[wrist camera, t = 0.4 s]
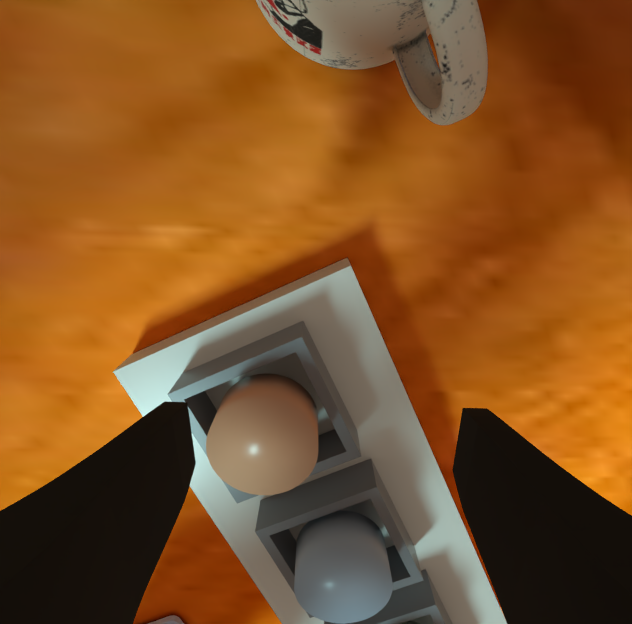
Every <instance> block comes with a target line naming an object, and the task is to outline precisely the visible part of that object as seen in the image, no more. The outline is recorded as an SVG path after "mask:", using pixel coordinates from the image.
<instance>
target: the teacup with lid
mask: <svg viewBox="0 0 632 624" xmlns="http://www.w3.org/2000/svg"><path fill="white" fill-rule="evenodd" d="M256 2H257V4H258V6H259V7H260V9H261V11H262V13H263V15H264V16H265V18H266V19H267V21H268V22H269V23H270V25H271V26H272V27H273V29H274V30H275V31H276V32H277V33H278V35H279V36H280V37H281V38H282V39H283V40H284V41H285V42H286V43H287V44H289V45H290V46H291V47H292V48H293V49H295V50H296V51H297V52H299V53H301V54H302V55H304V56H305V57H307V58H309V59H311V60H313V61H315V62H318V63H320V64H323V65H326V66H330V67H334V68H340V69H353V70H356V69H367V68H372V67H377V66H380V65H383V64H386V63H389V62H391V61H393V60H395V61H396V64H397V67H398V69H399V72H400V75H401V77H402V80H403V82H404V85H405V87H406V89H407V91H408V93H409V95H410V97H411V99H412V101H413V102H414V104H415V105H416V107H417V108H418V109H419V111H420V112H421V113H422V114H423V115H424V116H425V117H426V118H427V119H429V120H430V121H432V122H433V123H435V124H438V125H450V124H453V123H455V122H457V121H460V120H462V119H464V118H466V117H468V116H469V115H471V114H472V113H473V112H475V110H476V109H477V108H478V107H479V105H480V104H481V102H482V100H483V97H484V94H485V90H486V85H487V74H488V56H487V45H486V38H485V32H484V27H483V23H482V18H481V14H480V10H479V6H478V3H477V0H256ZM430 34H431V35H432V39H433V42H434V46H435V49H436V54H437V58H438V62H439V67H438V65H437V62H436V60H435V57H434V55H433V52H432V49H431V46H430V43H429V40H428V36H429V35H430ZM439 68H440V69H439Z"/></svg>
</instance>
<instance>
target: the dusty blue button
mask: <svg viewBox="0 0 632 624" xmlns="http://www.w3.org/2000/svg"><path fill="white" fill-rule="evenodd" d="M392 589H393V582H392V577H391V572H390V566H389V561H388V556H387V551H386V545H385V540H384V536H383V534H382V531H381V530H380V528H379V527H378V526H377V524H376V523H375V522H373V521H372V520H371V519H369V518H368V517H366V516H364V515H362V514H359V513H356V512H352V511H336V512H333V513H330V514H328V515H325V516H322V517H319V518H317V519H314V520H311V521H309V522H308V523H307V524H306V525H305V526H304V527H303V528H302V529H301V531H300V533H299V535H298V538H297V543H296V561H295V580H294V592H295V596H296V599H297V601H298V603H299V604H300V605H301V607H302V608H303V609H304V610H305V611H306V612H308V613H309V614H310V615H312V616H314V617H315V618H318V619H320V620H323V621H326V622H331V623H339V624H346V623H354V622H359V621H362V620H365V619H368V618H370V617H372V616H374V615H375V614H377V613H378V612H379V611H380V610H382V609H383V608H384V607H385V605H386V604H387V603H388V601H389V599H390V597H391V594H392Z"/></svg>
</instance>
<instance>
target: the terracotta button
mask: <svg viewBox="0 0 632 624" xmlns="http://www.w3.org/2000/svg"><path fill="white" fill-rule="evenodd" d="M206 452H207V457H208V460H209V462H210V464H211V466H212V468H213V470H214V471H215V472H216V474H217V475H218V476H219V477H220V478H221V479H222V480H223V481H224V482H226V483H227V484H228V485H230V486H232V487H233V488H235V489H237V490H240V491H242V492H245V493H249V494H254V495H275V494H280V493H283V492H286V491H289V490H291V489H293V488H295V487H297V486H298V485H300V484H301V483H302V482H303V481H304V480H305V479H306V478H307V477H308V476H309V475H310V474H311V472H312V471H313V469H314V467H315V464H316V462H317V458H318V411H317V407H316V404H315V402H314V400H313V398H312V397H311V395H310V394H309V392H308V391H307V390H306V389H305V388H304V387H303V386H302V385H300V384H299V383H297V382H296V381H294V380H292V379H290V378H288V377H285V376H282V375H277V374H266V373H265V374H256V375H252V376H249V377H246V378H244V379H242V380H240V381H238V382H237V383H235V384H234V385H233V386H232V387H231V388H230V389H229V390H228V391H227V392H226V394H225V396H224V397H223V399H222V402H221V404H220V406H219V408H218V411H217V413H216V415H215V418H214V420H213V422H212V425H211V427H210V429H209V432H208V435H207V439H206Z"/></svg>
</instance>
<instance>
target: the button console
mask: <svg viewBox="0 0 632 624" xmlns="http://www.w3.org/2000/svg"><path fill="white" fill-rule="evenodd" d="M113 372H114V374H115V375H116V377H117V378H118V380H119V381H120V383H121V384H122V386H123V387H124V389H125V390H126V392H127V393H128V395H129V396H130V398H131V399H132V401H133V402H134V404H135V405H136V407H137V408H138V410H139V411H140V413H141V414H142V416H143V417H144V416H145V415H146V414H148V413H149V412H150V411H152V410H153V409H155V408H156V407H157V406H159V405H160V404H162V403H163V402H187V403H188V410H189V417H190V425H191V432H192V439H193V446H194V454H195V461H196V465H195V468H194V472H193V475H192V479H191V482H190V485H189V486H190V487H191V489H192V490H193V492H194V493H195V495H196V496H197V498H198V499H199V501H200V502H201V504H202V505H203V507H204V508H205V510H206V511H207V513H208V514H209V515H210V517H211V518H212V520H213V521H214V523H215V524H216V526H217V527H218V529H219V530H220V532H221V533H222V535H223V536H224V538H225V539H226V541H227V542H228V544H229V545H230V547H231V548H232V550H233V551H234V553H235V554H236V556H237V557H238V559H239V560H240V562H241V563H242V565H243V566H244V568H245V569H246V571H247V572H248V574H249V575H250V577H251V578H252V580H253V581H254V583H255V584H256V586H257V587H258V589H259V590H260V592H261V593H262V595H263V596H264V597H265V599H266V600H267V602H268V603H269V605H270V606H271V608H272V609H273V611H274V612H275V614H276V615H277V617H278V618H279V620H280V621H281V623H282V624H339V623H331V622H326V621H323V620H320V619H318V618H315V617H314V616H312V615H310V614H309V613H308V612H306V611H305V610H304V609H303V608H302V607H301V605H300V604H299V603H298V601H297V599H296V596H295V592H294V580H295V561H296V543H297V538H298V535H299V533H300V531H301V529H302V528H303V527H304V526H305V525H306V524H307V523H308V522H309V521H311V520H314V519H317V518H319V517H322V516H325V515H328V514H330V513H333V512H336V511H352V512H356V513H359V514H362V515H364V516H366V517H368V518H369V519H371V520H372V521H373V522H375V523H376V524H377V526H378V527H379V528H380V530H381V531H382V534H383V536H384V540H385V545H386V551H387V556H388V561H389V566H390V572H391V577H392V582H393V589H392V594H391V597H390V599H389V601H388V603H387V604H386V605H385V607H384V608H383V609H382V610H380V611H379V612H378V613H377V614H375V615H374V616H372V617H370V618H368V619H365V620H362V621H359V622H354V623H346V624H401V623H404V622H407V621H415V622H418V623H420V624H507V622H506V620H505V618H504V615H503V613H502V611H501V608H500V606H499V604H498V601H497V599H496V597H495V595H494V592H493V590H492V588H491V585H490V583H489V581H488V578H487V576H486V574H485V572H484V569H483V567H482V565H481V562H480V560H479V558H478V556H477V553H476V551H475V549H474V546H473V544H472V542H471V540H470V537H469V535H468V533H467V530H466V528H465V526H464V523H463V521H462V519H461V517H460V514H459V512H458V510H457V507H456V505H455V503H454V501H453V498H452V496H451V494H450V491H449V489H448V487H447V485H446V482H445V480H444V478H443V475H442V473H441V471H440V468H439V466H438V464H437V462H436V459H435V457H434V455H433V452H432V450H431V448H430V446H429V443H428V441H427V439H426V436H425V434H424V432H423V429H422V427H421V425H420V423H419V420H418V418H417V416H416V413H415V411H414V409H413V407H412V404H411V402H410V400H409V397H408V395H407V393H406V391H405V388H404V386H403V384H402V381H401V379H400V377H399V374H398V372H397V370H396V368H395V365H394V363H393V361H392V358H391V356H390V354H389V352H388V349H387V347H386V345H385V342H384V340H383V338H382V335H381V333H380V331H379V329H378V326H377V324H376V322H375V319H374V317H373V315H372V313H371V310H370V308H369V306H368V303H367V301H366V299H365V297H364V294H363V292H362V290H361V287H360V285H359V283H358V280H357V278H356V276H355V274H354V271H353V269H352V267H351V264H350V262H349V260H348V258H345V259H343V260H340V261H338V262H336V263H334V264H331V265H329V266H327V267H325V268H323V269H320V270H318V271H316V272H314V273H311V274H309V275H307V276H305V277H303V278H300V279H298V280H296V281H294V282H291V283H289V284H287V285H285V286H283V287H280V288H278V289H276V290H274V291H271V292H269V293H267V294H265V295H262V296H260V297H258V298H256V299H254V300H251V301H249V302H247V303H245V304H242V305H240V306H238V307H236V308H234V309H231V310H229V311H227V312H225V313H222V314H220V315H218V316H216V317H213V318H211V319H209V320H207V321H205V322H202V323H200V324H198V325H196V326H193V327H191V328H189V329H187V330H185V331H182V332H180V333H178V334H176V335H173V336H171V337H169V338H167V339H164V340H162V341H160V342H158V343H156V344H153V345H151V346H149V347H147V348H144V349H142V350H140V351H138V352H136V353H133V354H131V355H130V356H129V357H128V358H127V359H126V360H125V361H124V362H123V363H122V364H121V365H120V366H118V367H117V368H116V369H115V370H114V371H113ZM265 373H266V374H277V375H282V376H285V377H288V378H290V379H292V380H294V381H296V382H297V383H299V384H300V385H302V386H303V387H304V388H305V389H306V390H307V391H308V392H309V394H310V395H311V397H312V398H313V400H314V402H315V404H316V407H317V411H318V458H317V462H316V464H315V467H314V469H313V471H312V472H311V474H310V475H309V476H308V477H307V478H306V479H305V480H304V481H303V482H302V483H301V484H300V485H298V486H297V487H295V488H293V489H291V490H289V491H286V492H283V493H280V494H275V495H254V494H249V493H245V492H242V491H240V490H237V489H235V488H233V487H232V486H230V485H228V484H227V483H226V482H224V481H223V480H222V479H221V478H220V477H219V476H218V475H217V474H216V472H215V471H214V470H213V468H212V466H211V464H210V462H209V460H208V457H207V452H206V439H207V435H208V432H209V429H210V427H211V425H212V422H213V420H214V418H215V415H216V413H217V411H218V408H219V406H220V404H221V402H222V399H223V397H224V396H225V394H226V392H227V391H228V390H229V389H230V388H231V387H232V386H233V385H234V384H235V383H237V382H238V381H240V380H242V379H244V378H246V377H249V376H252V375H256V374H265Z"/></svg>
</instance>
